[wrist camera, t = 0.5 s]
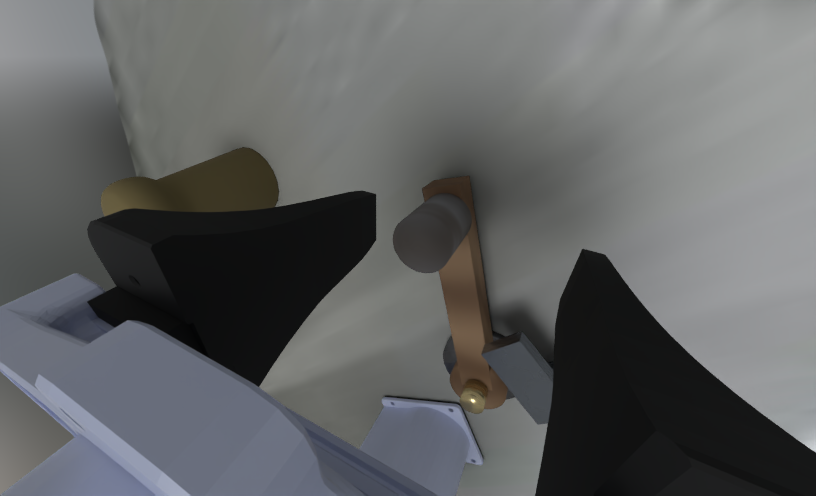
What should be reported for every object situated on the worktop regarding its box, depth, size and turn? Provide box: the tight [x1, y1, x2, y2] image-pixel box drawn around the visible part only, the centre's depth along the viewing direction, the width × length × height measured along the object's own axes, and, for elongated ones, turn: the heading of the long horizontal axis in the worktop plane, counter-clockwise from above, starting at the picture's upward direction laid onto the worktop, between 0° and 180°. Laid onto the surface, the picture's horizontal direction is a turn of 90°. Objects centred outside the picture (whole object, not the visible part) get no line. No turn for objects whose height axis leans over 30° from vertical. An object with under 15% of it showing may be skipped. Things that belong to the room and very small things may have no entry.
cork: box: [101, 147, 279, 216], centre depth 25 cm, size 6×6×11 cm
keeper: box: [481, 331, 554, 424], centre depth 22 cm, size 3×6×4 cm, turn 43°
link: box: [393, 176, 508, 409], centre depth 21 cm, size 18×4×6 cm, turn 13°
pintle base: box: [443, 331, 515, 414], centre depth 25 cm, size 7×7×4 cm
